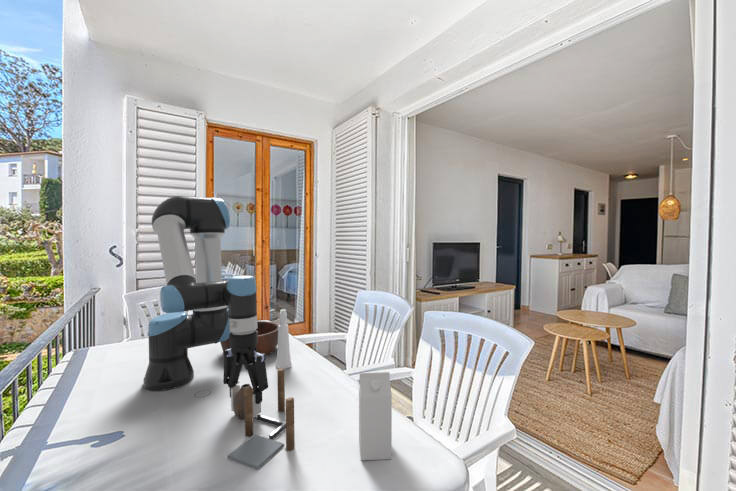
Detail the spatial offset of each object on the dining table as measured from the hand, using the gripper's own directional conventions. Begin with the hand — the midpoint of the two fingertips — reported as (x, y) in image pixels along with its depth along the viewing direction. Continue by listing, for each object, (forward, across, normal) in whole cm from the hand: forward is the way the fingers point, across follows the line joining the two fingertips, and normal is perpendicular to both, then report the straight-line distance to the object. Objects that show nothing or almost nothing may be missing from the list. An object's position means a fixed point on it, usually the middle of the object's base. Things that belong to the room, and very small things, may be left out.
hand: (246, 411), depth 97 cm
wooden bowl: (+1, -36, +40) cm, 54 cm away
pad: (+2, +14, -11) cm, 18 cm away
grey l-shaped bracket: (+2, +9, -3) cm, 10 cm away
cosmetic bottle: (+1, -13, +33) cm, 36 cm away
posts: (+2, +14, 0) cm, 14 cm away
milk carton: (+3, +39, +1) cm, 39 cm away
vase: (+2, 0, 0) cm, 2 cm away
